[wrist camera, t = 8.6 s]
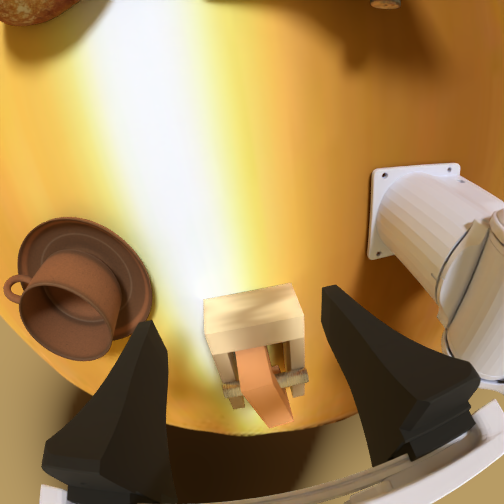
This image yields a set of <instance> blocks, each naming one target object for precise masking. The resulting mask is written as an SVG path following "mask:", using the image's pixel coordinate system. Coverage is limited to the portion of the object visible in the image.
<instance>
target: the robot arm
mask: <svg viewBox="0 0 504 504" xmlns="http://www.w3.org/2000/svg"><path fill="white" fill-rule="evenodd" d="M448 168H449V169H448ZM447 170H448V171H447ZM383 173H385V176H384V177H382V174H383ZM377 252H379V253H378V254H377ZM391 255H395V256H396V257H397V258H398V259H399V260H400V261H401V262H402V263H403V264H404V266H405V267H406V268H407V269H408V270H409V271H410V272H411V274H412V275H413V276H414V277H415V278H416V279H417V280H418V282H419V283H420V284H421V285H422V286H423V287H424V289H425V290H426V291H427V292H428V293H429V295H430V296H431V297H432V298H433V299H434V301H435V302H436V303H437V304H438V306H439V312H438V315H437V318H438V319H439V321H440V322H441V323H442V325H443V326H444V327H445V330H444V332H443V335H442V339H441V347H442V352H443V354H442V353H439V352H437V351H434V350H432V349H429V348H427V347H425V346H423V345H421V344H419V343H417V342H414V341H413V340H411V339H409V338H407V337H405V336H403V335H402V334H400V333H398V332H397V331H395V330H393V329H392V328H390V327H389V326H387V325H386V324H384V323H383V322H382V321H380V320H379V319H377V318H376V317H375V316H373V315H372V314H371V313H370V312H368V311H367V310H366V309H364V308H363V307H362V306H361V305H359V304H358V303H357V302H356V301H355V300H353V299H352V298H351V297H350V296H349V295H348V294H346V293H345V292H344V291H343V290H342V289H341V288H339V287H338V286H337V285H331V286H327V287H323V288H322V312H321V323H322V326H323V329H324V332H325V334H326V337H327V340H328V343H329V345H330V347H331V349H332V351H333V353H334V355H335V357H336V359H337V361H338V363H339V365H340V367H341V369H342V371H343V373H344V375H345V377H346V380H347V382H348V384H349V386H350V389H351V392H352V394H353V397H354V400H355V403H356V406H357V409H358V413H359V416H360V419H361V422H362V426H363V430H364V433H365V437H366V441H367V445H368V449H369V453H370V458H371V462H372V467H373V468H370V469H368V470H365V471H362V472H359V473H356V474H353V475H350V476H347V477H344V478H341V479H338V480H335V481H331V482H328V483H324V484H321V485H317V486H313V487H309V488H305V489H301V490H297V491H292V492H288V493H283V494H277V495H272V496H266V497H260V498H253V499H246V500H238V501H229V502H219V503H204V504H317V503H320V502H324V501H328V500H331V499H335V498H338V497H341V496H344V495H347V494H350V493H353V492H356V491H359V490H362V489H365V488H367V487H370V486H372V487H370V488H368V489H366V490H363V491H361V492H358V493H356V494H354V495H351V497H350V500H348V501H346V502H345V503H344V504H432V503H433V502H435V501H437V500H439V499H440V498H442V497H444V496H445V495H447V494H448V493H450V492H452V491H453V490H455V489H456V488H458V487H460V486H461V485H463V484H464V483H466V482H467V481H469V480H470V479H471V478H473V477H474V476H476V475H477V474H478V473H480V472H481V471H483V470H484V469H485V468H486V467H488V466H489V465H490V464H492V463H493V462H494V461H496V460H497V459H498V458H499V457H501V456H502V455H503V454H504V412H503V411H502V409H501V407H500V405H499V404H498V402H497V401H496V399H493V400H492V401H490V402H489V403H487V404H486V405H484V406H483V407H481V408H480V409H478V410H477V411H476V412H475V413H473V414H472V415H471V414H470V412H469V409H470V408H471V405H470V404H469V402H468V400H469V399H470V397H471V396H472V395H473V393H474V392H475V391H476V390H477V388H482V389H490V390H495V391H497V392H499V393H501V394H503V395H504V202H503V201H501V200H500V199H498V198H497V197H495V196H494V195H492V194H490V193H489V192H487V191H486V190H484V189H482V188H481V187H479V186H477V185H475V184H474V183H472V182H470V181H468V180H467V179H465V178H463V177H461V176H460V165H459V164H457V163H443V164H427V165H413V166H401V167H390V168H379V169H375V170H374V171H373V172H372V180H371V207H370V224H369V238H368V250H367V256H368V258H369V259H371V260H374V259H379V258H383V257H387V256H391ZM167 388H168V353H167V349H166V347H165V345H164V343H163V341H162V339H161V337H160V335H159V333H158V331H157V329H156V327H155V325H154V323H153V321H152V320H150V321H143V322H139V323H138V325H137V326H136V328H135V330H134V332H133V333H132V335H131V337H130V339H129V341H128V342H127V344H126V346H125V348H124V350H123V351H122V353H121V355H120V356H119V358H118V360H117V362H116V363H115V365H114V367H113V368H112V370H111V371H110V373H109V374H108V376H107V378H106V379H105V381H104V382H103V383H102V385H101V386H100V388H99V389H98V390H97V392H96V393H95V394H94V396H93V397H92V398H91V399H90V400H89V401H88V403H87V404H86V405H85V406H84V407H83V408H82V410H81V411H80V412H79V413H78V414H77V415H76V416H75V417H74V418H73V419H72V420H71V421H70V422H69V423H68V424H66V425H65V426H64V427H63V428H62V429H61V430H60V431H58V432H57V433H56V434H55V435H54V436H52V437H51V438H50V439H48V440H47V441H46V444H45V449H44V454H43V460H42V466H41V467H42V469H43V470H44V471H45V472H46V473H47V474H49V475H50V476H52V477H54V478H56V479H58V480H59V481H61V482H63V483H65V484H67V485H68V491H67V490H64V489H61V488H57V487H53V486H49V485H45V484H42V485H41V493H40V503H39V504H176V503H177V502H178V499H177V496H176V491H175V487H174V482H173V477H172V471H171V466H170V459H169V451H168V443H167V432H166V404H167ZM378 483H379V484H378ZM375 484H377V485H375ZM373 485H374V486H373Z"/></svg>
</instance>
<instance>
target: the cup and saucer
mask: <svg viewBox="0 0 504 504" xmlns="http://www.w3.org/2000/svg"><path fill="white" fill-rule="evenodd" d="M18 274H19V275H15V276H12V277H10V278H9V279H8V280H7V281H6V282H5V284H4V294H5V296H6V297H7V298H8V299H9V300H10V301H12V302H15V303H18V304H19V312H20V316H21V319H22V322H23V324H24V326H25V327H26V329H27V330H28V332H29V333H30V334H31V336H32V337H33V338H34V339H35V340H36V341H37V342H38V343H39V344H41V345H42V346H43V347H45V348H46V349H47V350H49V351H51V352H52V353H54V354H56V355H59V356H61V357H64V358H67V359H70V360H75V361H91V360H96V359H98V358H100V357H102V356H104V355H105V354H106V353H107V352H108V351H109V349H110V347H111V344H112V341H113V340H118V339H122V338H124V337H127V336H129V335H131V334H132V333H133V332H134V330H135V328H136V326H137V325H138V323H139V322H143V321H146V319H147V317H148V316H149V313H150V310H151V305H152V289H151V283H150V279H149V276H148V273H147V271H146V269H145V267H144V265H143V263H142V261H141V260H140V258H139V257H138V255H137V254H136V252H135V251H134V250H133V249H132V248H131V247H130V246H129V245H128V244H127V243H126V242H125V241H124V240H123V239H122V238H121V237H119V236H118V235H117V234H115V233H114V232H113V231H111V230H109V229H108V228H106V227H104V226H102V225H100V224H98V223H95V222H92V221H90V220H86V219H82V218H76V217H61V218H55V219H51V220H48V221H46V222H44V223H42V224H40V225H38V226H37V227H35V228H34V229H33V230H32V231H31V232H30V233H29V234H28V235H27V236H26V238H25V239H24V241H23V243H22V245H21V247H20V250H19V254H18ZM17 282H21V285H22V288H23V290H24V292H23V294H22V296H19V295H16V294H14V293H12V291H11V287H12V285H13V284H15V283H17Z"/></svg>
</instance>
